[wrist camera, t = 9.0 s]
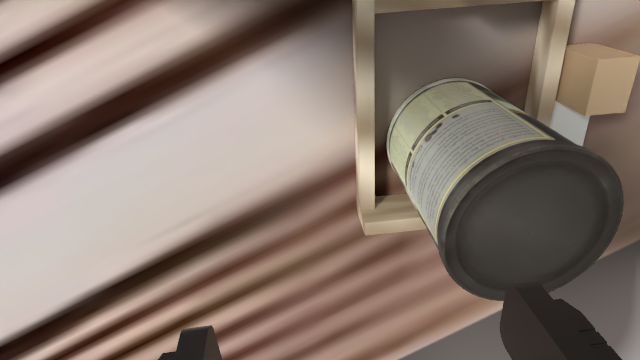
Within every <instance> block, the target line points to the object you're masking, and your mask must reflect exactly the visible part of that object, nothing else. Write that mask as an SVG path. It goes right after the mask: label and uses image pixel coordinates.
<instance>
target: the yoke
mask: <svg viewBox="0 0 640 360" xmlns="http://www.w3.org/2000/svg"><path fill="white" fill-rule="evenodd" d="M533 1H543V2H542V8H541V14H540V20H539V26H538V32H537V38H536V44H535V50H534V56H533V62H532V67H531V73H530V79H529V85H528V91H527V97H526V103H525V109H524V112H525V113H527V114H528V115H530V116H531V117H533V118H535V119H536V120H538V121H540V122H541V123H543V124H545V125H546V126H548V127H549V128H550V124H551V119H552V114H553V109H554V104H555V99H556V94H557V89H558V84H559V79H560V74H561V69H562V64H563V59H564V54H565V49H566V44H567V39H568V34H569V29H570V24H571V19H572V15H573V10H574V5H575V0H352V18H353V60H354V102H355V144H356V186H357V211H358V214H359V218H360V221H361V224H362V227H363V230H364V233H365V235H373V234H383V233H393V232H403V231H412V230H422V229H426V227H425V225H424V223H423V221H422V220H421V218H420V216H419V214H418V212H417V210H416V209H415V207H414V205H413V203H412V201H411V199H410V198H409V196H408V194H396V195H386V196H376V197H375V94H374V14H376V13H389V12H402V11H415V10H428V9H441V8H454V7H467V6H481V5H494V4H507V3H520V2H533Z"/></svg>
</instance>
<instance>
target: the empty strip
mask: <svg viewBox="0 0 640 360" xmlns="http://www.w3.org/2000/svg"><path fill="white" fill-rule="evenodd" d="M639 61H640V56H639V55H636V54H632V53H628V52H625V51H621V50H617V49H614V48H610V47H607V46H603V45H599V44H596V43H584V44H572V45H566V49H565V54H564V59H563V64H562V69H561V74H560V79H559V84H558V89H557V94H556V99H555V104H554V109H553V114H552V119H551V124H550V128H551V129H553V130H554V131H556V132H557V133H559V134H561V135H562V136H564V137H565V138H567V139H569V140H570V141H572V142H573V143H575V144H577V145H580V146H583V142H584V138H585V134H586V130H587V126H588V122H589V118H590V115H601V114H612V113H623V112H625V111H626V107H627V104H628V100H629V97H630V93H631V90H632V86H633V83H634V79H635V76H636V72H637V69H638V65H639Z"/></svg>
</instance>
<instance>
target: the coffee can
mask: <svg viewBox="0 0 640 360" xmlns="http://www.w3.org/2000/svg"><path fill="white" fill-rule="evenodd" d="M386 147H387V155H388V159H389V162H390V164H391V166H392V168H393V170H394V171H395V173H396V174H397V175H398V177H399V179H400V181H401V183H402V185H403V186H404V188H405V190H406V192H407V194H408V196H409V198H410V199H411V201H412V203H413V205H414V207H415V209H416V210H417V212H418V214H419V216H420V218H421V220H422V221H423V223H424V225H425V227H426V229H427V230H428V232H429V234H430V236H431V238H432V240H433V241H434V243H435V245H436V247H437V249H438V250H439V254H440V257H441V260H442V262H443V264H444V266H445V268H446V270H447V272H448V273H449V275H450V276H451V278H452V279H453V280H454V281H455V282H456V283H457V284H458V285H459V286H461V287H462V288H463V289H465V290H466V291H468V292H470V293H471V294H474V295H476V296H478V297H482V298H486V299H490V300H497V301H504V297H505V291H506V288H507V287H508V286H510V285H517V284H524V283H532V282H537V283H539V284H540V285H541V286H542V287H543V288H544V289H545V290H546V291H547V293H549V292H550V291H553V290H555V289H557V288H559V287H561V286H563V285H565V284H567V283H568V282H570V281H572V280H573V279H574V278H576V277H578V276H579V275H580V274H582V273H583V272H584V271H586V270H587V269H588V268H589V267H590V266H591V265H593V264H594V263H595V261H596V260H597V259H598V258H599V257H600V256H601V255H602V253H603V252H604V251H605V250H606V248H607V247H608V245H609V244H610V242H611V241H612V239H613V237H614V235H615V233H616V231H617V228H618V226H619V223H620V221H621V217H622V212H623V204H624V200H623V191H622V186H621V182H620V179H619V177H618V175H617V174H616V172H615V170H614V169H613V168H612V166H611V165H610V164H609V163H608V162H607V161H606V160H604V159H603V158H602V157H601V156H599V155H597V154H596V153H594V152H593V151H591V150H589V149H587V148H585V147H583V146H580V145H577V144H575V143H573V142H572V141H570V140H569V139H567V138H565V137H564V136H562V135H561V134H559V133H557V132H556V131H554V130H553V129H551V128H549V127H548V126H546V125H545V124H543V123H541V122H540V121H538V120H536V119H535V118H533V117H531V116H530V115H528V114H527V113H525V112H523V111H522V110H520V109H519V108H517V107H515V106H514V105H512V104H511V103H509V102H508V101H506V100H504V99H503V98H501V97H500V96H498V95H496V94H495V93H493V92H492V91H491V90H490V89H488V88H487V87H485V86H484V85H482V84H480V83H478V82H475V81H472V80H469V79H464V78H449V79H443V80H439V81H435V82H433V83H430V84H428V85H426V86H424V87H422V88H420V89H419V90H417V91H415V92H414V93H413V94H412V95H410V96H409V97H408V98H407V100H405V101H404V102H403V104H402V105H401V106H400V107H399V109H398V110H397V112H396V113H395V115H394V117H393V119H392V121H391V123H390V126H389V130H388V133H387V143H386Z"/></svg>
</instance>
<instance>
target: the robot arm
mask: <svg viewBox="0 0 640 360" xmlns="http://www.w3.org/2000/svg"><path fill="white" fill-rule="evenodd" d="M500 333H501V338H502V341H503V344H504V346H505V348H506V350H507V352H508V353H509V355H510V357H511V358H512V360H622V359H621V358H620V357H619V356H618V355H617V353H616V352H615V351H614V350H613V349H612V348H611V346H608V345H607V342H606V341H605V339H604V338H603V337H602V336H601V335H600V334H599V332H596V331H595V328H594V327H593V325H592V324H591V323H590V322H589V321H588V320H587V318H586V317H585V316H584V315H583V314H582V313H581V312H580V311H579V310H577V309H576V308H574V307H573V306H571V305H569V304H568V303H567V302H565V301H564V300H562V299H556V300H553V299H552V298H551V297H550V295H549V294H548V293H547V291H546V290H545V289H544V288H543V287H542V286H541V285H540V284H539V283H537V282H532V283H524V284H517V285H510V286H508V287H507V288H506V291H505V297H504V303H503V309H502V315H501V321H500ZM158 360H222V357H221V354H220V350H219V346H218V343H217V339H216V336H215V332H214V329H213V327H212V326H204V327H196V328H189V329H183V330H182V331H181V334H180V338H179V342H178V346H177V350H176V352H169V353H163V354H162V355H161V356H160V358H159V359H158Z"/></svg>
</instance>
